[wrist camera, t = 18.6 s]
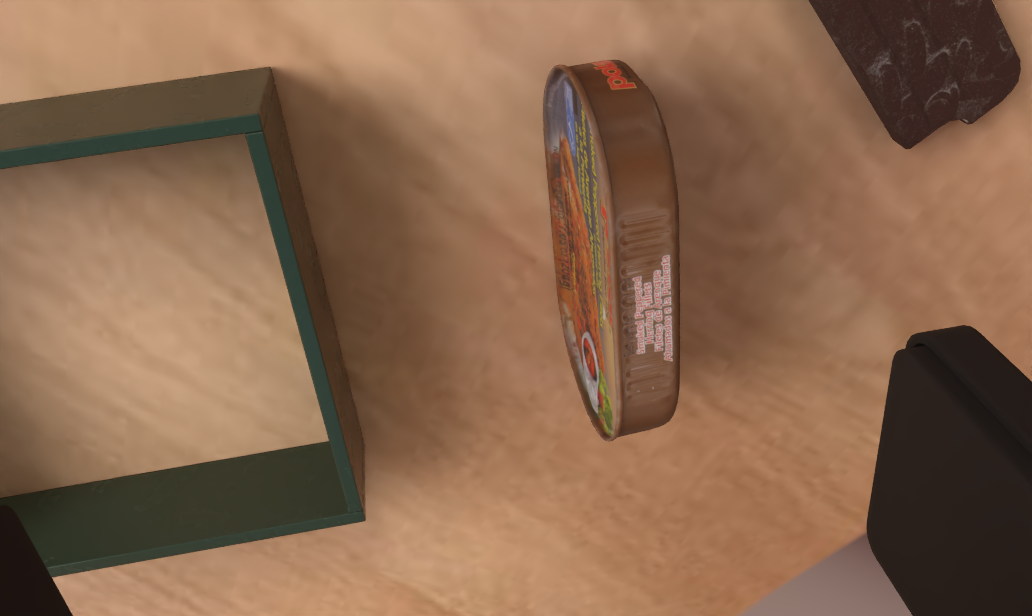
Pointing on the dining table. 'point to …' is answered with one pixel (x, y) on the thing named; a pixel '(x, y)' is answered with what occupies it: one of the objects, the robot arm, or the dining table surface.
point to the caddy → (323, 466)
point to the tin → (614, 243)
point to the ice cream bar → (924, 59)
